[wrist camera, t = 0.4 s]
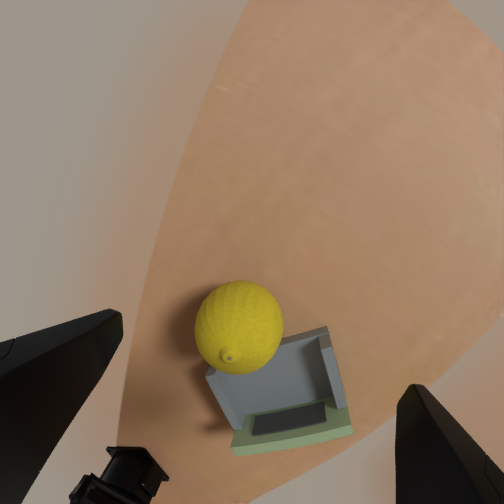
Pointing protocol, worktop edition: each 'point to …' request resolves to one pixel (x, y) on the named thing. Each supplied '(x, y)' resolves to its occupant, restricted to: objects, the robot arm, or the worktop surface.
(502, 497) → the robot arm
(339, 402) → the miniature couch
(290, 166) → the worktop surface
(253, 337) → the lemon
